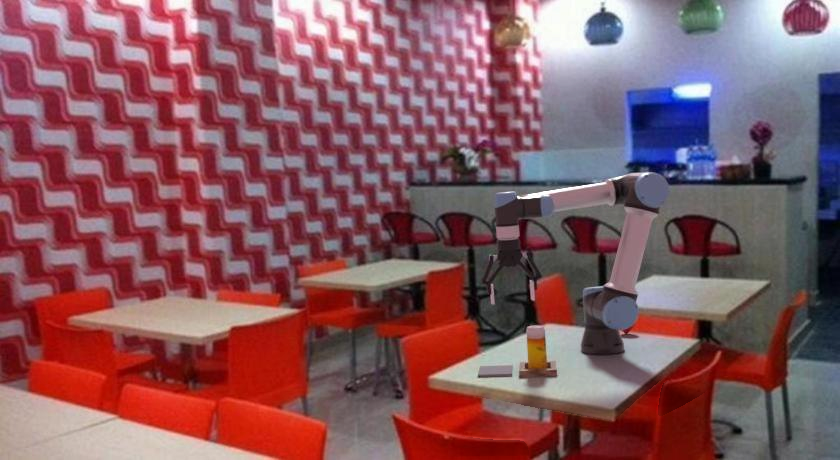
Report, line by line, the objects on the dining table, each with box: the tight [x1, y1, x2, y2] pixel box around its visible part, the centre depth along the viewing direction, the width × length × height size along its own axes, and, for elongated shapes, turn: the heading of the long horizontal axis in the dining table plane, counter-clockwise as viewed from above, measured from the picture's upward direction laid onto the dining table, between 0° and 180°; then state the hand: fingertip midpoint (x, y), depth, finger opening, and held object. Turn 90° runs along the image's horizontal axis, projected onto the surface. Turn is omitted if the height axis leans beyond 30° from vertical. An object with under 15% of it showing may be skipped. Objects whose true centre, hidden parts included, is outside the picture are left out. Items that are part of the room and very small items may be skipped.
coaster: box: [477, 364, 513, 378], centre depth 257 cm, size 11×11×1 cm
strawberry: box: [621, 322, 636, 335], centre depth 301 cm, size 6×8×10 cm
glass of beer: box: [525, 324, 548, 369], centre depth 254 cm, size 6×6×15 cm
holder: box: [518, 360, 558, 378], centre depth 254 cm, size 12×12×2 cm
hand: (513, 302), depth 258 cm, fingers open, 13 cm apart
